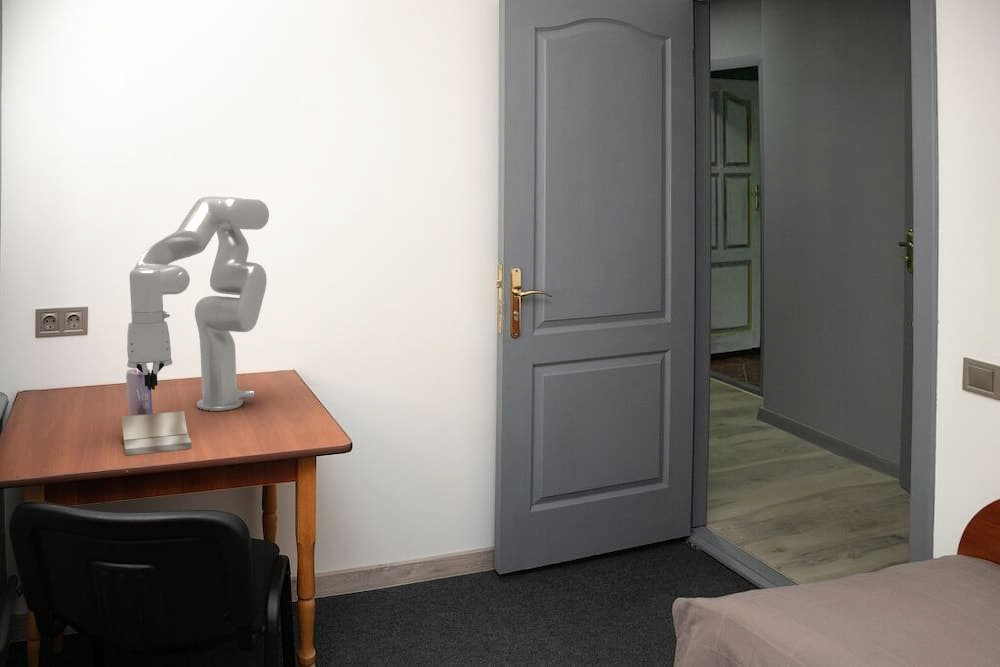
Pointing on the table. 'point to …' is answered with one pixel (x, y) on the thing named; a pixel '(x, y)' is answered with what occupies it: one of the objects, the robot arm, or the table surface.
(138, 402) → the beverage can
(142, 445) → the floorboard
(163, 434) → the plank
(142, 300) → the robot arm
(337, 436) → the table surface
